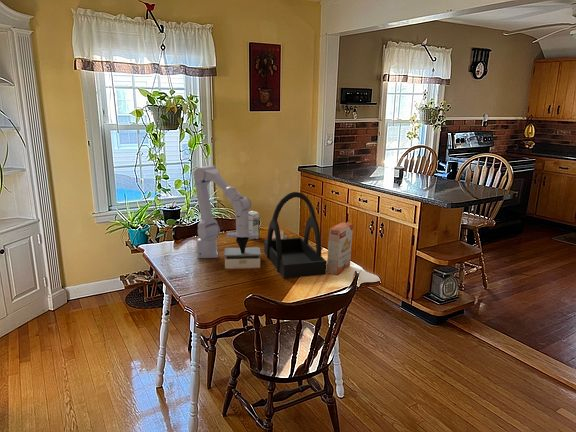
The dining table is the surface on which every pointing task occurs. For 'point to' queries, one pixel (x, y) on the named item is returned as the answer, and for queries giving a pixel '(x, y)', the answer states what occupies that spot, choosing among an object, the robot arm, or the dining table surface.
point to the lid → (237, 252)
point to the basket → (295, 246)
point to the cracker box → (339, 248)
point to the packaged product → (280, 235)
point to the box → (242, 262)
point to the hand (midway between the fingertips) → (242, 252)
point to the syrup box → (253, 222)
